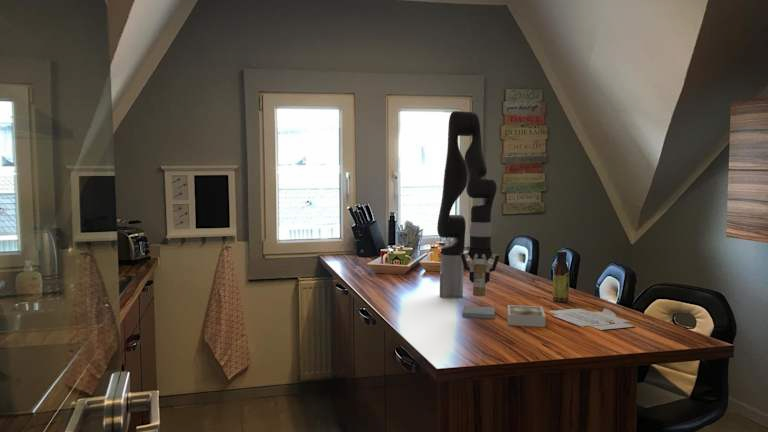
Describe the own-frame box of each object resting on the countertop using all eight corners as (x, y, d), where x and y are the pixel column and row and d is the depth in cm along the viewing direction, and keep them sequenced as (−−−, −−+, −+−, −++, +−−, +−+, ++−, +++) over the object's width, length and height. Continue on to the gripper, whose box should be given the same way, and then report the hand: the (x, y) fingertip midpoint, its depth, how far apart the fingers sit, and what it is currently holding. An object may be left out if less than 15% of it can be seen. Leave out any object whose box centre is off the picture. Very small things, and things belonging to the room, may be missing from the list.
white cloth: (593, 333, 193) (593, 322, 193) (541, 317, 219) (541, 307, 219) (643, 328, 200) (643, 317, 200) (587, 313, 227) (587, 303, 227)
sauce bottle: (569, 303, 236) (571, 252, 234) (552, 302, 237) (554, 252, 236) (567, 299, 242) (569, 250, 241) (551, 298, 243) (553, 249, 242)
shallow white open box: (507, 324, 201) (508, 314, 201) (507, 314, 215) (507, 304, 215) (545, 327, 199) (545, 316, 198) (541, 316, 213) (542, 306, 213)
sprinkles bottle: (470, 295, 215) (471, 258, 214) (477, 293, 219) (477, 256, 218) (481, 297, 212) (482, 259, 211) (488, 295, 216) (488, 258, 215)
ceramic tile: (462, 316, 211) (462, 312, 211) (464, 309, 222) (464, 305, 222) (494, 318, 209) (494, 314, 209) (494, 311, 220) (494, 307, 220)
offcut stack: (510, 325, 201) (510, 310, 201) (510, 321, 206) (510, 307, 206) (538, 326, 200) (538, 312, 199) (537, 323, 205) (537, 308, 204)
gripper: (459, 235, 212) (458, 283, 213) (501, 236, 209) (499, 285, 210) (460, 233, 219) (460, 279, 220) (500, 234, 216) (499, 281, 217)
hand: (479, 282), depth 215 cm, fingers closed on sprinkles bottle, 4 cm apart
